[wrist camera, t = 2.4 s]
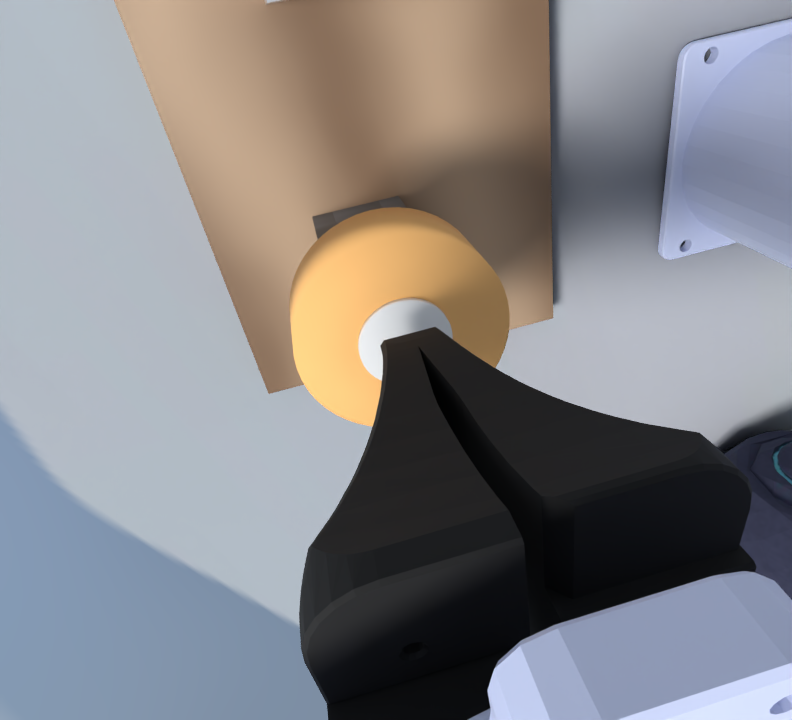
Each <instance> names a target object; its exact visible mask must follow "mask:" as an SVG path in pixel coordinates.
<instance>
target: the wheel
mask: <svg viewBox="0 0 792 720" xmlns="http://www.w3.org/2000/svg"><path fill="white" fill-rule="evenodd" d="M289 311H290V322H291V333H292V344H293V354H294V360H295V364H296V368H297V370H298V373H299V375H300V377H301V380H302V381H303V383H304V385H305V386H306V388H307V389H308V391H309V392H310V393H311V394H312V396H313V397H314V398H315V399H316V400H317V401H318V402H319V403H320V404H322V405H323V406H324V407H325V408H327V409H328V410H330V411H331V412H333V413H334V414H336V415H338V416H340V417H342V418H344V419H346V420H349V421H352V422H355V423H358V424H363V425H368V426H373V424H374V420H375V416H376V411H377V407H378V402H379V398H380V392H381V383H382V375H383V355H382V351H381V347H380V345H381V344H382V342H383V341H384V340H387V339H390V338H394V337H398V336H402V335H406V334H409V333H413V332H417V331H421V330H425V329H428V328H432V327H436V328H438V329H440V330H441V331H442V332H444V333H445V334H446V335H448V336H449V337H450V338H452V339H453V340H454V341H456V342H457V343H458V344H460V345H461V346H462V347H464V348H465V349H467V350H468V351H470V352H471V353H472V354H474V355H475V356H477V357H478V358H480V359H482V360H483V361H485V362H486V363H488V364H489V365H491V366H492V367H494V368H495V367H496V366H497V364H498V362H499V360H500V358H501V356H502V354H503V351H504V349H505V345H506V342H507V338H508V332H509V326H510V312H509V305H508V299H507V296H506V293H505V289H504V287H503V285H502V283H501V281H500V279H499V277H498V276H497V274H496V273H495V271H494V270H493V268H492V267H491V266H490V265H489V264H488V263H487V261H486V260H485V259H484V258H483V257H482V256H481V255H480V254H479V252H478V251H477V250H476V249H475V248H474V247H473V246H472V245H471V244H470V242H469V241H468V240H467V239H466V238H465V237H464V236H463V235H462V234H461V233H460V232H459V231H458V230H457V229H456V228H455V227H453V226H452V225H451V224H449V223H448V222H446V221H445V220H443V219H441V218H439V217H438V216H435V215H433V214H430V213H427V212H425V211H421V210H416V209H412V208H401V207H391V208H380V209H374V210H369V211H366V212H363V213H360V214H356V215H354V216H352V217H350V218H348V219H346V220H343V221H342V222H340V223H339V224H337V225H335V226H334V227H332V228H331V229H329V230H328V231H327V232H326V233H325V234H323V235H322V236H321V237H320V238H319V239H318V240H317V241H316V242H315V243H314V244H313V245H312V246H311V248H310V249H309V250H308V252H307V253H306V255H305V256H304V257H303V259H302V261H301V263H300V265H299V267H298V269H297V270H296V273H295V276H294V279H293V282H292V286H291V291H290V300H289Z"/></svg>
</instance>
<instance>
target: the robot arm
mask: <svg viewBox="0 0 792 720" xmlns="http://www.w3.org/2000/svg"><path fill="white" fill-rule="evenodd" d="M709 48H710V51H711V54H710V56H709V58H708V60H707V61H706V62H705V61H704V56H705V53H706V51H707V50H708V49H709ZM683 241H685V244H684V245H683V246H682V247H681V248H680V245H681V244H682V242H683ZM737 242H738V243H740V244H742V245H744V246H747V247H749V248H751V249H753V250H755V251H757V252H759V253H761V254H763V255H765V256H767V257H769V258H771V259H773V260H775V261H777V262H779V263H781V264H783V265H785V266H787V267H790V268H792V19H787V20H783V21H779V22H774V23H770V24H766V25H761V26H757V27H753V28H749V29H744V30H740V31H736V32H731V33H727V34H723V35H718V36H714V37H710V38H706V39H701V40H697V41H693V42H691V43H688V44H687V45H686V46H685V47H684V48H683V49H682V51H681V53H680V54H679V58H678V62H677V72H676V82H675V91H674V101H673V110H672V120H671V129H670V139H669V149H668V158H667V168H666V177H665V187H664V197H663V206H662V216H661V225H660V235H659V245H658V253H659V254H660V256H662V257H663V258H665V259H667V260H673V259H676V258H680V257H684V256H688V255H692V254H695V253H699V252H703V251H707V250H711V249H714V248H718V247H722V246H726V245H730V244H734V243H737ZM380 347H381V351H382V355H383V375H382V383H381V392H380V398H379V402H378V407H377V411H376V416H375V420H374V424H373V427H372V431H371V434H370V437H369V440H368V443H367V446H366V448H365V451H364V453H363V456H362V458H361V461H360V463H359V465H358V468H357V470H356V472H355V474H354V476H353V478H352V480H351V482H350V484H349V486H348V488H347V490H346V491H345V493H344V495H343V497H342V499H341V500H340V502H339V504H338V506H337V508H336V509H335V511H334V512H333V514H332V516H331V517H330V519H329V520H328V522H327V523H326V524H325V526H324V527H323V529H322V530H321V532H320V533H319V534H318V536H317V537H316V539H315V540H314V542H313V543H312V544H311V546H310V547H309V548H308V553H307V558H306V563H305V568H304V573H303V580H302V587H301V597H300V612H299V619H300V636H301V649H302V654H303V657H304V661H305V664H306V666H307V668H308V669H309V671H310V673H311V675H312V677H313V678H314V681H315V682H316V684H317V686H318V688H319V690H320V692H321V694H322V695H323V697H324V699H325V701H326V703H327V709H328V720H792V600H791V599H790V597H789V596H788V595H787V594H786V593H785V592H784V591H783V590H782V589H781V587H780V586H779V585H778V584H777V583H776V582H775V581H774V580H771V579H769V578H767V577H764V576H762V575H759V574H757V573H755V571H756V568H757V567H756V564H755V561H754V560H753V559H752V558H751V557H750V556H749V554H748V553H747V552H746V551H745V550H744V549H743V548H742V547H741V546H740V542H741V538H742V535H743V531H744V528H745V524H746V521H747V517H748V514H749V511H750V506H751V497H752V488H751V485H750V482H749V479H748V478H747V477H746V476H745V475H744V474H743V473H742V472H741V471H740V470H739V469H738V468H737V467H736V466H735V465H734V464H733V463H732V462H731V461H730V460H729V459H728V458H727V457H726V456H725V455H724V454H723V453H722V452H721V451H720V450H719V449H718V448H717V447H716V446H714V445H713V444H712V443H711V442H710V441H709V440H707V439H706V438H705V437H704V436H702V435H701V434H700V433H697V432H691V431H685V430H679V429H673V428H667V427H661V426H655V425H649V424H644V423H639V422H635V421H631V420H626V419H622V418H618V417H614V416H610V415H606V414H603V413H599V412H596V411H592V410H589V409H586V408H583V407H580V406H577V405H574V404H571V403H568V402H565V401H563V400H560V399H557V398H555V397H552V396H550V395H548V394H545V393H543V392H541V391H538V390H536V389H534V388H532V387H529V386H527V385H525V384H523V383H521V382H519V381H517V380H515V379H513V378H512V377H510V376H508V375H506V374H504V373H502V372H501V371H499V370H497V369H496V368H494V367H492V366H491V365H489V364H488V363H486V362H485V361H483V360H482V359H480V358H478V357H477V356H475V355H474V354H472V353H471V352H470V351H468V350H467V349H465V348H464V347H462V346H461V345H460V344H458V343H457V342H456V341H454V340H453V339H452V338H450V337H449V336H448V335H446V334H445V333H444V332H442V331H441V330H440V329H438V328H436V327H432V328H428V329H425V330H421V331H417V332H413V333H409V334H406V335H402V336H398V337H394V338H390V339H387V340H384V341H383V342H382V344H381V345H380Z"/></svg>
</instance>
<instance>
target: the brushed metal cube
mask: <svg viewBox="0 0 792 720" xmlns="http://www.w3.org/2000/svg"><path fill="white" fill-rule="evenodd" d="M282 1H286V0H265V4H266V5H268V4H272V3H277V2H282Z"/></svg>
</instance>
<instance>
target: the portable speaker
mask: <svg viewBox="0 0 792 720" xmlns="http://www.w3.org/2000/svg"><path fill="white" fill-rule="evenodd" d="M724 455H725V456H726V457H727V458H728V459H729V460H730V461H731V462H732V463H733V464H734V465H735V466H736V467H737V468H738V469H739V470H740V471H741V472H742V473H743V474H744V475H745V476H746V477H747V478H748V479H749V482H750V485H751V488H752V497H751V506H750V511H749V514H748V517H747V521H746V524H745V528H744V531H743V535H742V538H741V542H740V546H741V547H742V548H743V549H744V550H745V551H746V552H747V553H748V554H749V556H750V557H751V558H752V559H753V560H754V561H755V564H756V567H757V568H756V571H755V573H757V574H759V575H762V576H764V577H767V578H769V579H771V580H774V581H775V582H776V583H777V584H778V585H779V586H780V587H781V589H782V590H783V591H784V592H785V593H786V594H787V595H788V596H789V597H790V599H791V600H792V431H785V430H779V431H771V432H765V433H762V434H759V435H756V436H753V437H750V438H748V439H746V440H745V441H743V442H742V443H740V444H738V445H737V446H735V447H734V448H732V449H731V450H729V451H728V452H726V453H725V454H724Z"/></svg>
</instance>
